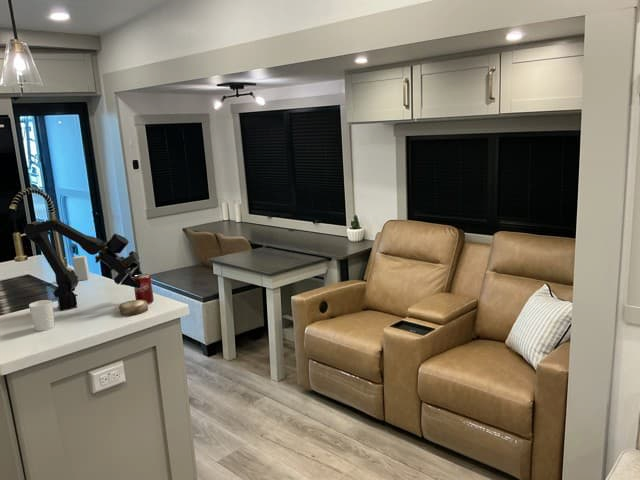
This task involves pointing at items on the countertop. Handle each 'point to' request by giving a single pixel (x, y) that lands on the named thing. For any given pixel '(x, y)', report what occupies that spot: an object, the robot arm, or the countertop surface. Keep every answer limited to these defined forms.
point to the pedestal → (133, 307)
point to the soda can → (144, 288)
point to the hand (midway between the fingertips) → (143, 284)
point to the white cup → (42, 314)
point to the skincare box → (81, 267)
